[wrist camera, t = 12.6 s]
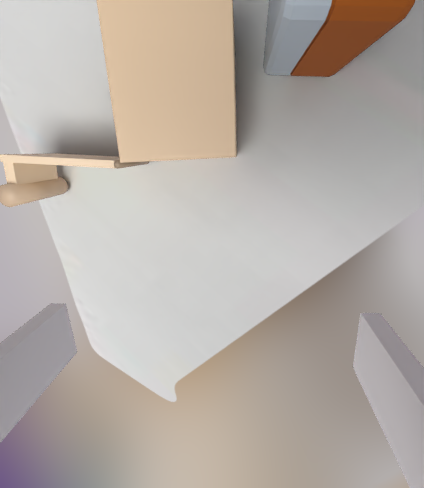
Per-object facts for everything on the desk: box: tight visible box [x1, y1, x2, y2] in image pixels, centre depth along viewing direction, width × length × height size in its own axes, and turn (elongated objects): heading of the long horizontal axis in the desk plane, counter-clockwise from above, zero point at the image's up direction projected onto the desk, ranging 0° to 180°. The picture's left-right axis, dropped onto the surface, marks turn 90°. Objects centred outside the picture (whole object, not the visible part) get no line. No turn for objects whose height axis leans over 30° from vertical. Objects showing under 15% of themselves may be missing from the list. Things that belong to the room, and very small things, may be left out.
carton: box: [97, 0, 237, 163], centre depth 32 cm, size 12×14×12 cm
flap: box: [0, 153, 149, 207], centre depth 36 cm, size 6×15×10 cm, turn 87°
